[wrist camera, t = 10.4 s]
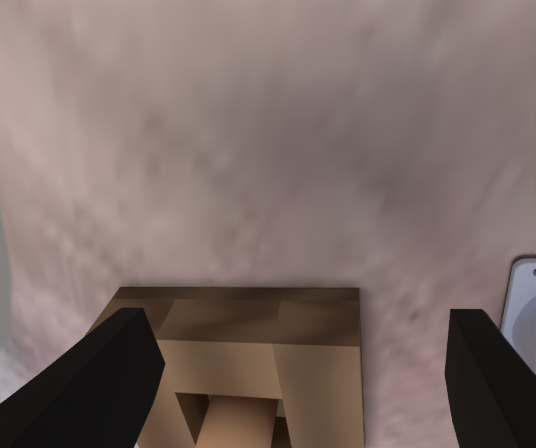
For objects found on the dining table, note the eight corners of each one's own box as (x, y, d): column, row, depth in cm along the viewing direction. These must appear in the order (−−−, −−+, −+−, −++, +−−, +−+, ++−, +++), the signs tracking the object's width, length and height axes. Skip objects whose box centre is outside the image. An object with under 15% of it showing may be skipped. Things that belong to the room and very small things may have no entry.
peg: (289, 379, 25) (270, 505, 19) (267, 414, 27) (244, 536, 21) (227, 355, 25) (189, 475, 19) (210, 392, 27) (171, 509, 21)
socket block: (358, 288, 22) (359, 346, 19) (365, 445, 29) (366, 508, 26) (120, 287, 25) (83, 337, 22) (178, 429, 32) (157, 483, 29)
